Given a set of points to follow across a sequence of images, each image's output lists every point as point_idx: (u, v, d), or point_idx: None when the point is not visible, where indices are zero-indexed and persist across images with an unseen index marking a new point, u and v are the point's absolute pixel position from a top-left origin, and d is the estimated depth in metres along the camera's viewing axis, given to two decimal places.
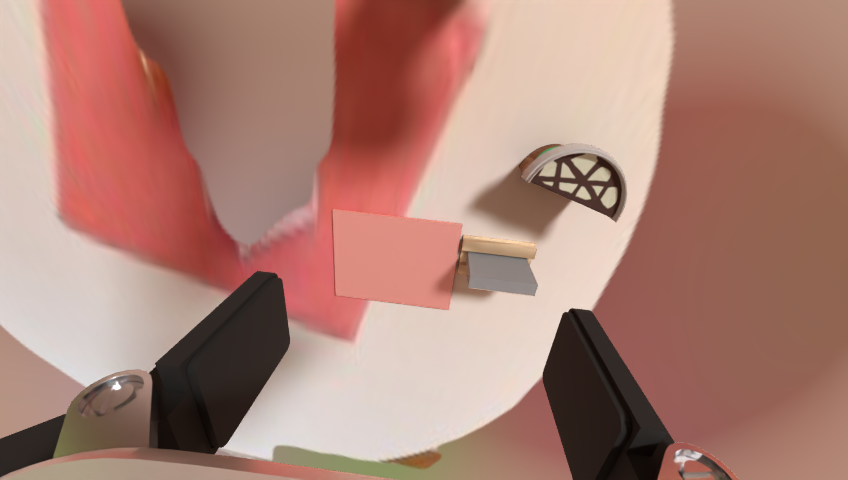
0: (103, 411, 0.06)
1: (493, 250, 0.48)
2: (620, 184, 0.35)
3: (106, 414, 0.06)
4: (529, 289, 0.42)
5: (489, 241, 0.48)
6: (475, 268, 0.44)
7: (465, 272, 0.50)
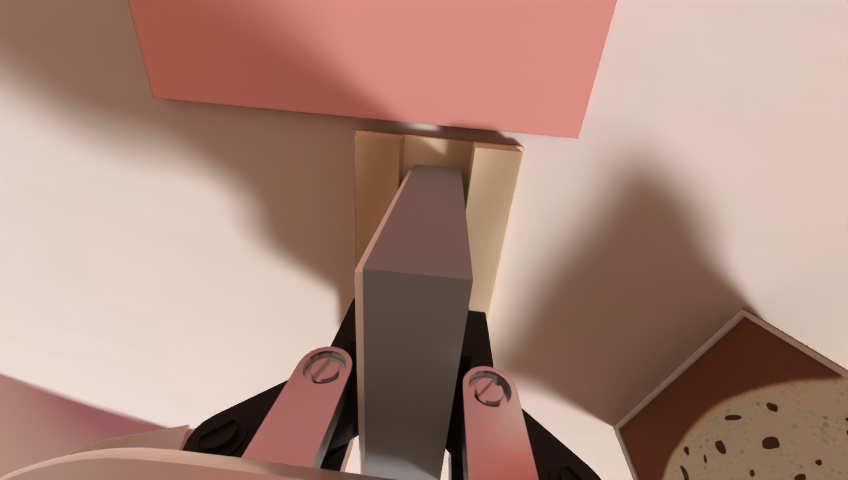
0: (314, 378, 0.07)
1: (473, 268, 0.13)
2: None
3: (315, 382, 0.07)
4: None
5: None
6: None
7: (365, 168, 0.11)
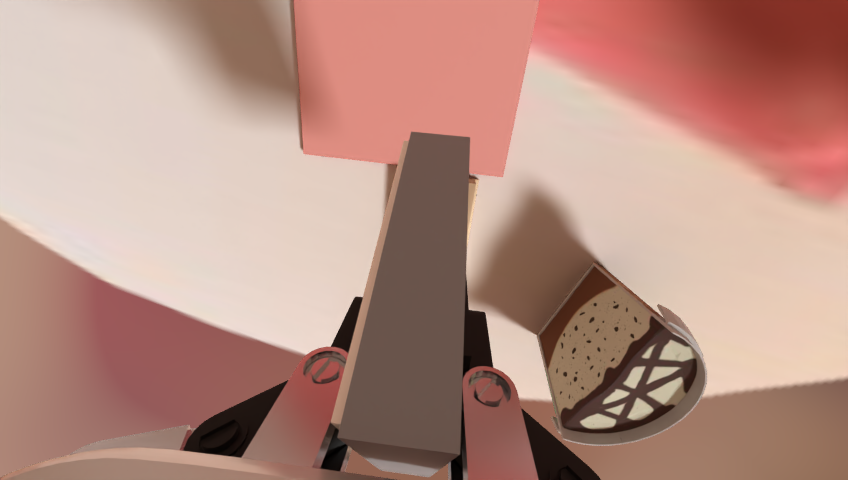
0: (315, 378, 0.07)
1: None
2: (617, 430, 0.23)
3: (315, 382, 0.07)
4: (404, 472, 0.11)
5: (467, 227, 0.27)
6: None
7: None
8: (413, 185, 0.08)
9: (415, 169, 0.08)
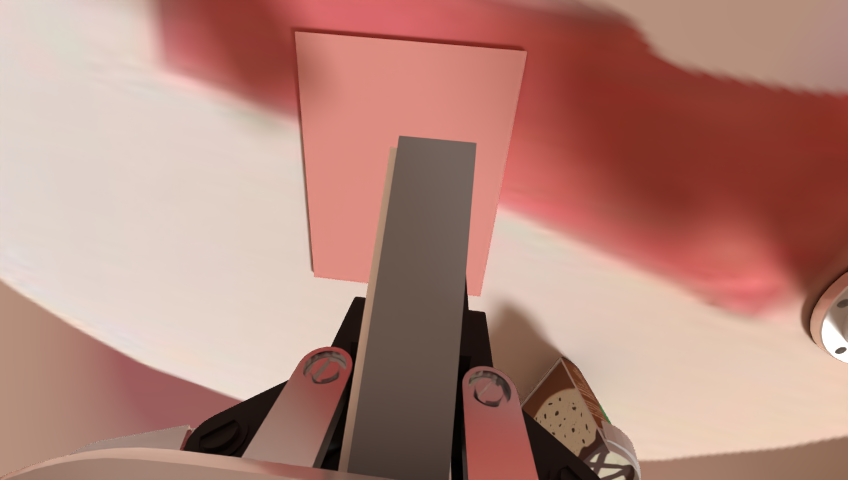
0: (315, 378, 0.07)
1: None
2: None
3: (315, 382, 0.07)
4: None
5: None
6: None
7: None
8: (401, 236, 0.07)
9: (404, 208, 0.07)
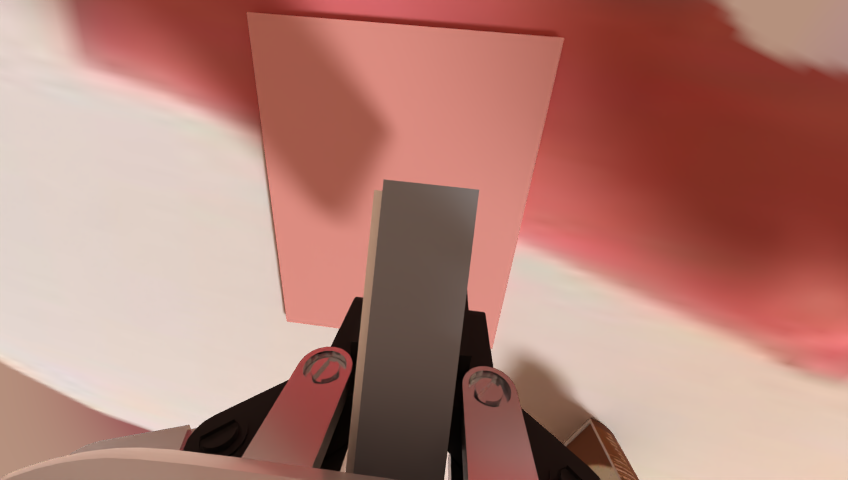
0: (315, 378, 0.07)
1: None
2: None
3: (315, 382, 0.07)
4: None
5: None
6: None
7: None
8: (390, 307, 0.06)
9: (392, 273, 0.06)
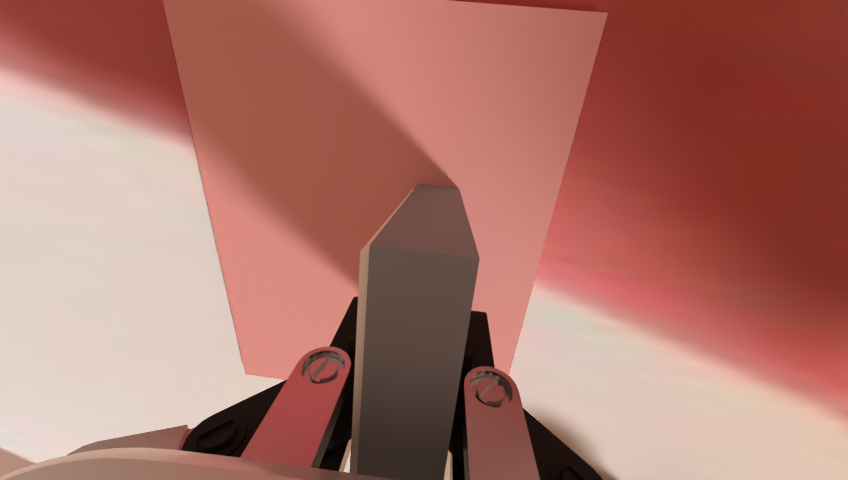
0: (313, 378, 0.07)
1: None
2: None
3: (314, 382, 0.07)
4: None
5: None
6: None
7: None
8: (383, 371, 0.06)
9: (384, 340, 0.06)
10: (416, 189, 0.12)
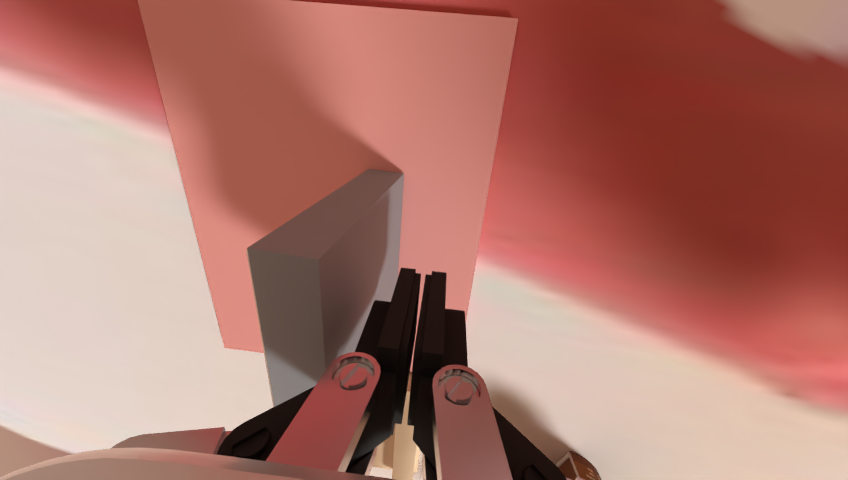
0: (343, 384, 0.07)
1: (403, 437, 0.22)
2: None
3: (343, 388, 0.07)
4: None
5: None
6: None
7: None
8: (273, 329, 0.08)
9: (269, 310, 0.08)
10: (358, 177, 0.14)
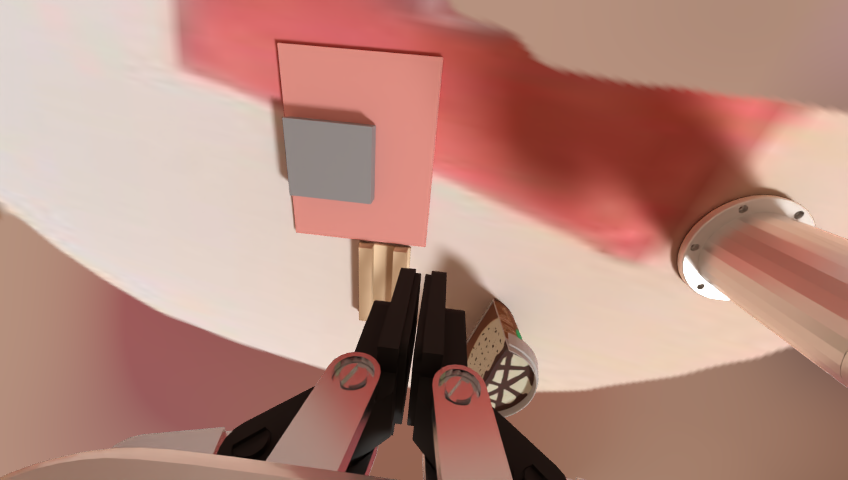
0: (343, 384, 0.07)
1: None
2: (497, 410, 0.37)
3: (343, 388, 0.07)
4: None
5: None
6: (295, 175, 0.34)
7: (361, 255, 0.38)
8: None
9: None
10: (359, 123, 0.32)
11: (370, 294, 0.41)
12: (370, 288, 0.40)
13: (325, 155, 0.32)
